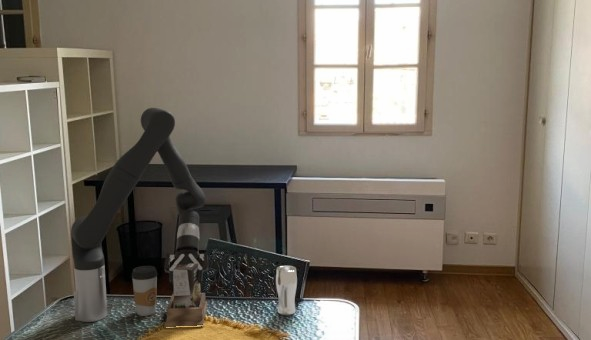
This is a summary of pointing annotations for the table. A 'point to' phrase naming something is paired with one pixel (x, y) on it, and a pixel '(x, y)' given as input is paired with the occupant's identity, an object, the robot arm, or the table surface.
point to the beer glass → (286, 289)
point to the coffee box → (186, 286)
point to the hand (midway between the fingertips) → (185, 282)
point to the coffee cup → (145, 289)
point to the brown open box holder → (186, 314)
